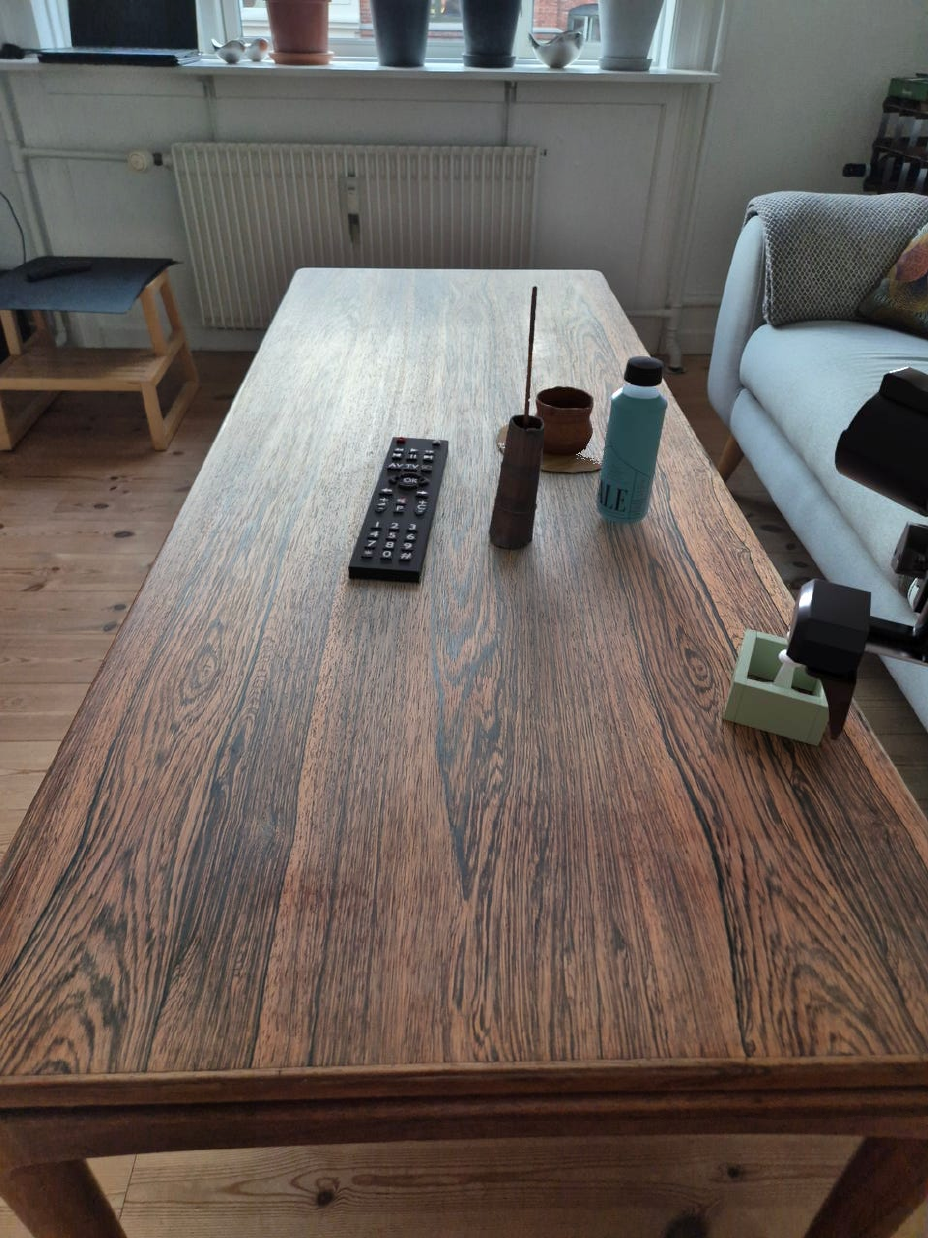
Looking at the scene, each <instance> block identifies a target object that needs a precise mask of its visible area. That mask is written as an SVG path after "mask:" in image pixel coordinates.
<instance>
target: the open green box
mask: <svg viewBox="0 0 928 1238" xmlns="http://www.w3.org/2000/svg"><path fill="white" fill-rule="evenodd" d="M786 649H787V637H786V638H785V637H781V636H777V635H774V634H770V633H766V632H762V631H758V630H754V629H751V628H746V629H745V633H744V635H743V638H742V641H741V645H740V648H739V651H738V655H737V658H736V661H735V665H734V669H733V674H732V676H731V677H732V678H731V682H730V685H729V690H728V695H727V698H726V702H725V707H724V710H723V715H722V720H725V721H728V722H732V723H735V724H738V725H742V726H745V727H749V728H753V729H756V730H759V731H763V732H766V733H770V734H774V735H777V736H780V737H785V738H788V739H791V740H795V741H798V742H802V743H804V744H805V743H806V744H808V745H812V746H816V747H818V746H819V744H820V742H821V740H822V737H823V736H824V735H823V734H824V732H825V730H826V728H827V725H828V724H829V711H828V704H827V700H826V697H825V693H824V690H823V687H822V684H821V681H820V680H819V679H817V678H813V677H811V676H809V675H807V674H806V672H805V670H804V667H805V665H802V666H799V667H795V669H794V674H793V679H792V685H791V687H794V688H798V689H802V690H805V691H809V692H811V695H810V694H807V693H803V692H799V691H796V690H795V691H792V690H788V689H785V688H781V687H777V686H774V685H770V684H766V683H763V682H764V681H759V680H755V679H751V678H748V675H750V676H754V677H757V678H760V679H764V680H767V681H771V682H774V680H775V679H776V677H777V675H778V673H779V671H780V669H781V667H782V665H783V662H781V660H780V659H779V654H780V653H781V652H782V651H783V650H786Z"/></svg>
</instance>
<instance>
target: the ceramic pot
mask: <svg viewBox="0 0 928 1238" xmlns="http://www.w3.org/2000/svg"><path fill="white" fill-rule="evenodd" d="M594 401H595V399H594V397H593V395H591V394H590V393H589V392H588V391H586V390H583V389H581V388H577V387H574V386H568V385H566V386H562V385H555V386H553V387H548V388H545V389H542V390H540V391H539V392H537V394H536V396H535V407H536V411H535V413H534V414H533V416H537V417H541V418H542V419H543V421H544V424H545V426H544V427H545V433H544V444H543V453H542V461H541V471H548V472H551V473H553V472H557V473H563V472H564V473H573V474H576V473H580V472H593V471H596V470H601V469H602V467H601V466H602V465H600V464H601V463H600V464H598V463H595V462H596V461H597V460H596V461H593V460H591V461H590V459H592V458H589V457H588V458H586V457H583V456H582V455H580V454H578V453H579V452H580V453H581V451H582V450H583V449H584V450H585V449H586V446H587V444H588V443H589V441H590V439H591V437H592V434H593V428H592V424H591V422H592V421H591V414H592V412H593V409H594V407H595V402H594ZM508 426H509V423H508V424H505V425H503V426H502V427H500V429H499V430H498V434H497V437H496V438H495V439H496V444H497V443H502V444H503V443H504V445H501V446H502V447H505V443H506V438H507V431H508ZM497 446H498V448H499V449H500V448H501V449H500V450H501V452H502V451H503V452H502V454H504V449H505V448H502V447H500V444H499V445H497ZM576 454H578V455H579V456H578V455H576ZM580 456H581V457H580ZM577 458H578V459H577ZM581 458H584V459H585V460H584V459H581ZM593 459H594V458H593ZM597 462H599V461H597ZM602 462H603V461H602ZM593 463H595V464H593Z"/></svg>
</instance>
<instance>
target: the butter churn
mask: <svg viewBox="0 0 928 1238" xmlns="http://www.w3.org/2000/svg"><path fill="white" fill-rule="evenodd" d="M531 289H532V290H531V298H530V311H529V332H528V346H527V348H528V349H527V365H526V368H527V369H526V381H525V391H524V392H525V394H524V408H523V409H524V410H523V414H514V415H512V416H511V417H510V418H509V422H508V424H509V426H508V431H507V438H506V443H505V449H504V453H502V459H501V463H500V465H499V466H500V470H499V476H498V481H497V487H496V492H495V497H494V501H493V506H492V513H491V519H490V524H489V530H488V536H489V540H490V542H491V543H492V544H494V545H495V546H497V547H500V548H502V549H509V550H518V549H519V548H521V547H523V546H526V545H528V544H529V543H530V542H532V541H533V537H534V527H535V526H534V525H535V518H536V510H537V508H538V504H537V503H538V502H537V499H538V498H537V497H538V490H539V484H540V477H541V471H542V470H541V461H542V453H543V444H544V433H545V427H544V426H545V424H544V421H543V419H542V418H541V417H537V416H534V414H533V415H532V414H531V415H530V406H531V405H530V404H531V402H530V399H531V385H532V384H531V383H532V370H533V369H532V368H533V367H532V366H533V351H534V342H535V329H536V328H535V327H536V316H537V315H536V313H537V312H536V311H537V299H538V298H537V297H538V286H536V285H534V286H532V288H531Z"/></svg>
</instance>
